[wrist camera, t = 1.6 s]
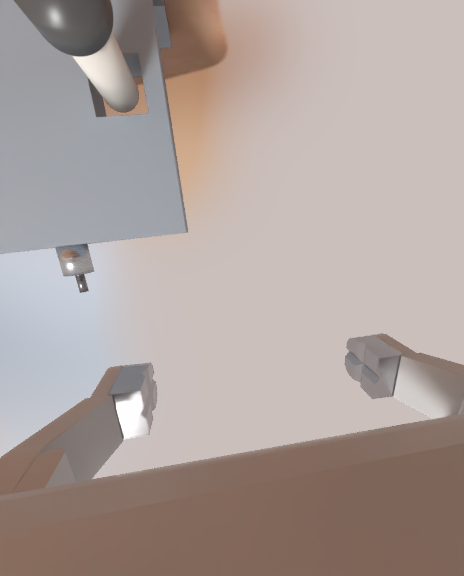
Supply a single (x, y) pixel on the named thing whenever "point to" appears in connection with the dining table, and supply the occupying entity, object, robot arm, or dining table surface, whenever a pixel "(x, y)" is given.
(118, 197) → the mount
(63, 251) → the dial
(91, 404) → the robot arm
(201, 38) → the dining table surface
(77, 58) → the knob
